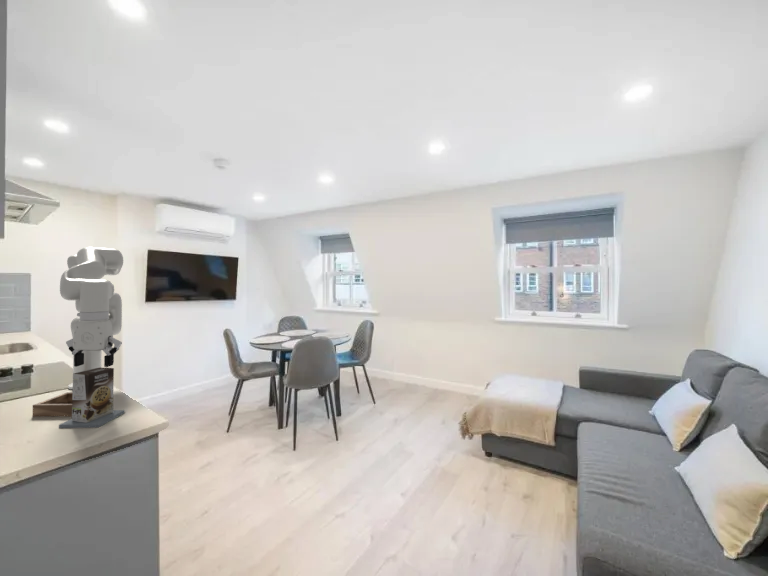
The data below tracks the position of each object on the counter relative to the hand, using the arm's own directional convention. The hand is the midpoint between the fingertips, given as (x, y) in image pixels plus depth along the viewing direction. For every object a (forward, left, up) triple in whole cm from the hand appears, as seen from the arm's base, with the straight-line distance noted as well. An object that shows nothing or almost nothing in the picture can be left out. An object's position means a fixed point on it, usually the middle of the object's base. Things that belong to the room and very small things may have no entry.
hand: (94, 365), depth 112 cm
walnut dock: (-10, -16, -19) cm, 26 cm away
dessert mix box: (0, 0, -18) cm, 18 cm away
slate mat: (0, 0, -19) cm, 19 cm away
